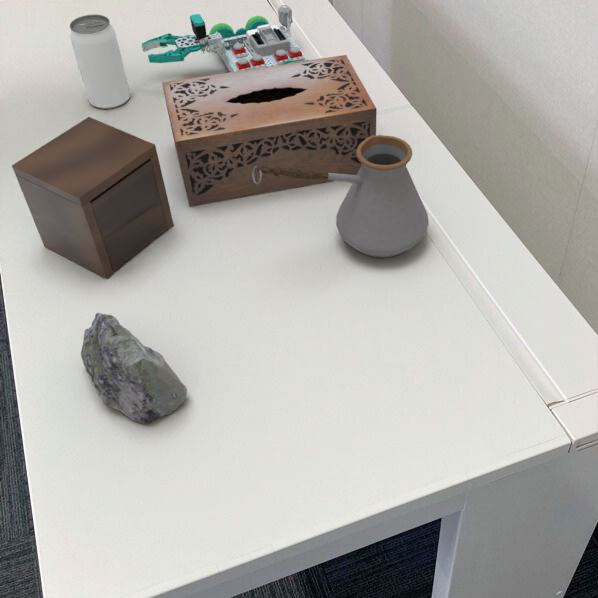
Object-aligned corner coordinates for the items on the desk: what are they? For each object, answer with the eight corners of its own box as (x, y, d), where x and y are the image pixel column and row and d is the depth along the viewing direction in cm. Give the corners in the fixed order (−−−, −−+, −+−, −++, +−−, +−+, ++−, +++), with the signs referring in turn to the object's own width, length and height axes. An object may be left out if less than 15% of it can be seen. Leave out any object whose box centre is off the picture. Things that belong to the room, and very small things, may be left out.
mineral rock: (86, 344, 86) (60, 278, 79) (183, 329, 88) (166, 263, 80) (84, 437, 78) (54, 374, 70) (191, 419, 79) (173, 355, 72)
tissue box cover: (346, 117, 116) (346, 54, 108) (375, 173, 107) (376, 108, 99) (175, 146, 111) (161, 82, 104) (189, 206, 102) (175, 141, 95)
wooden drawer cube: (44, 246, 97) (11, 165, 88) (112, 196, 104) (88, 116, 94) (106, 279, 93) (79, 198, 84) (174, 225, 100) (155, 144, 90)
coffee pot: (403, 200, 103) (408, 98, 91) (442, 253, 96) (454, 150, 84) (250, 241, 97) (236, 139, 86) (280, 301, 90) (269, 198, 79)
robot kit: (140, 62, 127) (128, 6, 120) (283, 33, 133) (279, -22, 126) (168, 120, 116) (156, 62, 109) (323, 85, 122) (321, 27, 115)
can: (83, 94, 121) (61, 19, 112) (124, 83, 123) (105, 9, 114) (94, 114, 117) (72, 38, 108) (136, 103, 119) (117, 27, 110)
